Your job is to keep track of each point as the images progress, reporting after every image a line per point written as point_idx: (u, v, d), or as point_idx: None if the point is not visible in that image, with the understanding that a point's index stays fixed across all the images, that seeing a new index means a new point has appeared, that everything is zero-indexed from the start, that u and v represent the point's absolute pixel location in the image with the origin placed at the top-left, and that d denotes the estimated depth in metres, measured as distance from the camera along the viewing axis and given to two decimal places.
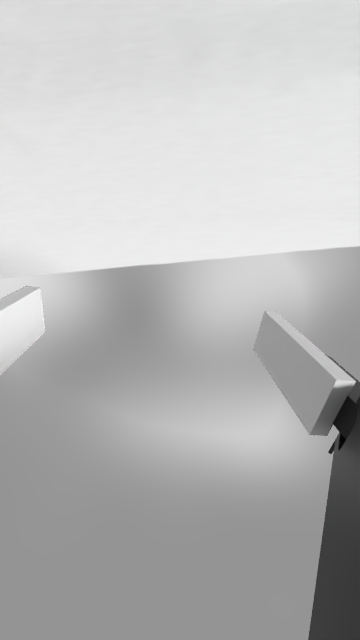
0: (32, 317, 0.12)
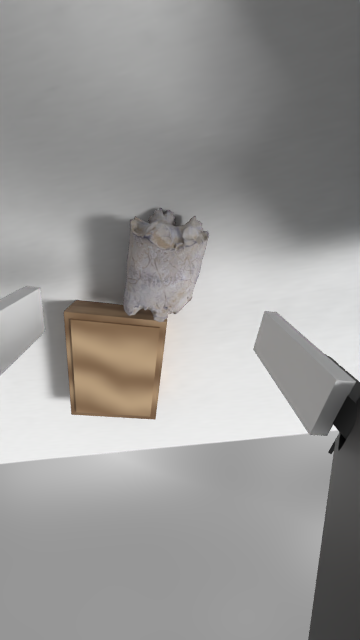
0: (32, 317, 0.12)
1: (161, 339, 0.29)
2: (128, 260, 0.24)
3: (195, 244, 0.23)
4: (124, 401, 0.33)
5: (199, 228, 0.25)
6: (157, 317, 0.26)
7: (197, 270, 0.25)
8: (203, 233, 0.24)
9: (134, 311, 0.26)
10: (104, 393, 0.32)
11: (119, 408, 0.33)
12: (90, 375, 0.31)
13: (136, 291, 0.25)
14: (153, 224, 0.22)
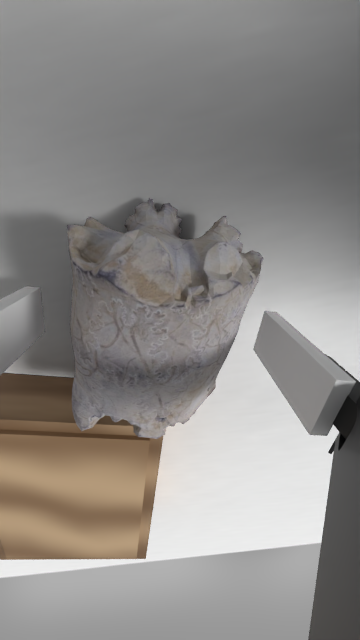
0: (32, 317, 0.12)
1: (154, 454, 0.15)
2: (70, 322, 0.10)
3: (238, 288, 0.09)
4: (89, 543, 0.19)
5: (236, 243, 0.11)
6: None
7: (232, 339, 0.11)
8: (249, 257, 0.10)
9: (93, 423, 0.12)
10: (53, 534, 0.18)
11: (82, 551, 0.19)
12: (22, 512, 0.17)
13: (93, 389, 0.11)
14: (126, 238, 0.08)
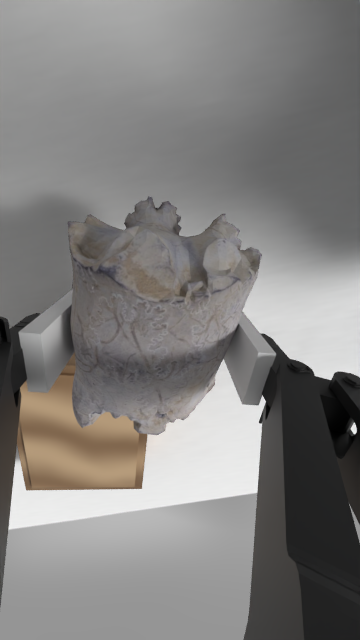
0: None
1: None
2: (71, 318, 0.10)
3: (236, 284, 0.09)
4: (97, 471, 0.24)
5: (235, 241, 0.12)
6: None
7: (231, 335, 0.11)
8: (248, 254, 0.10)
9: (93, 419, 0.12)
10: (69, 463, 0.23)
11: (92, 480, 0.24)
12: (47, 442, 0.22)
13: (93, 385, 0.11)
14: (126, 234, 0.08)
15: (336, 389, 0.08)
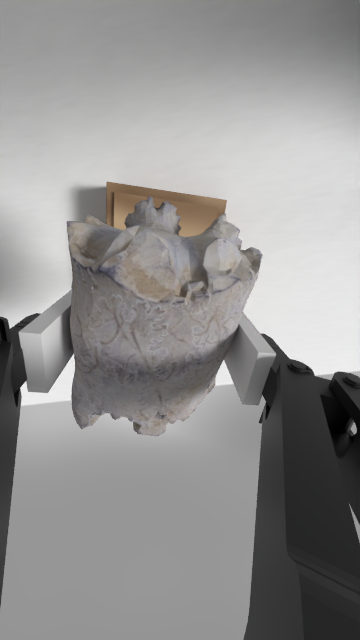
0: None
1: None
2: (70, 319, 0.10)
3: (237, 284, 0.09)
4: None
5: (235, 241, 0.11)
6: None
7: (232, 335, 0.11)
8: (249, 254, 0.10)
9: (93, 420, 0.12)
10: None
11: None
12: None
13: (93, 386, 0.11)
14: (126, 234, 0.08)
15: (336, 389, 0.08)
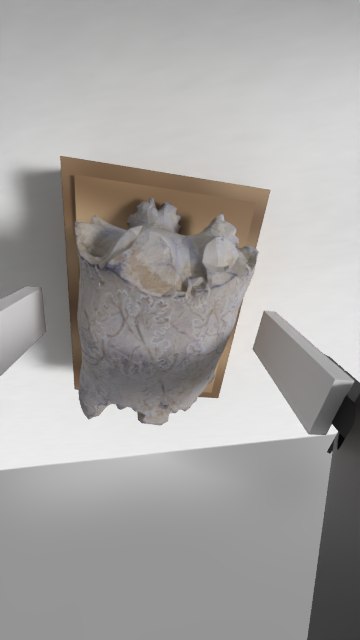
0: (33, 317, 0.12)
1: (253, 232, 0.15)
2: (78, 314, 0.11)
3: (234, 279, 0.10)
4: None
5: (233, 239, 0.12)
6: None
7: (230, 329, 0.12)
8: (245, 251, 0.11)
9: (99, 411, 0.13)
10: None
11: None
12: None
13: (99, 378, 0.11)
14: (130, 234, 0.09)
15: None
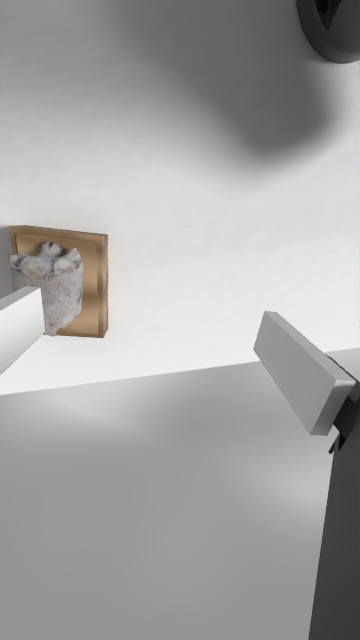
0: (32, 317, 0.12)
1: (99, 254, 0.34)
2: (13, 287, 0.29)
3: (64, 273, 0.28)
4: None
5: (77, 258, 0.31)
6: (46, 333, 0.31)
7: (75, 293, 0.30)
8: (76, 263, 0.30)
9: None
10: None
11: (68, 325, 0.37)
12: None
13: None
14: (25, 259, 0.27)
15: None
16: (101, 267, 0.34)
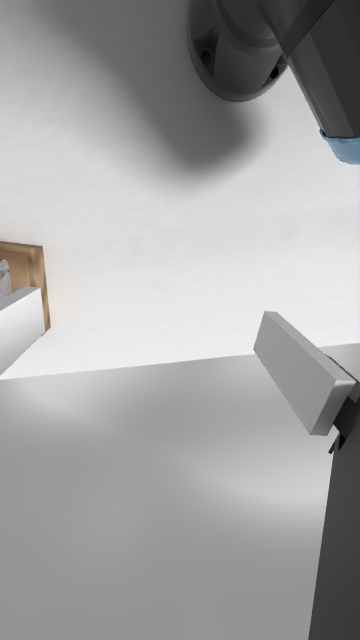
0: (32, 317, 0.12)
1: (29, 264, 0.39)
2: None
3: None
4: None
5: (5, 268, 0.36)
6: None
7: None
8: (1, 273, 0.35)
9: None
10: None
11: None
12: None
13: None
14: None
15: None
16: (33, 275, 0.40)
